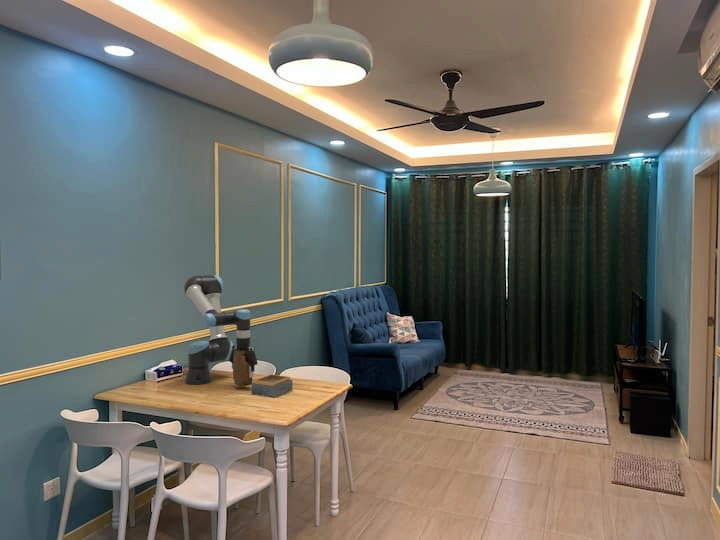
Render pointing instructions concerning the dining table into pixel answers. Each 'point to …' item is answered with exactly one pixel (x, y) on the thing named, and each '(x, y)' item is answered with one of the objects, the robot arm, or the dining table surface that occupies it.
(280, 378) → the grey square tray
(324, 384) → the dining table surface
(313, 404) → the dining table surface
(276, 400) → the dining table surface
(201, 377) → the robot arm
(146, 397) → the dining table surface
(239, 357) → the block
